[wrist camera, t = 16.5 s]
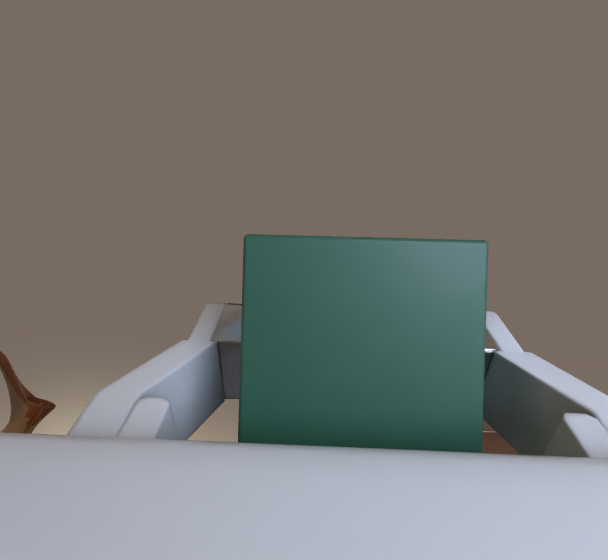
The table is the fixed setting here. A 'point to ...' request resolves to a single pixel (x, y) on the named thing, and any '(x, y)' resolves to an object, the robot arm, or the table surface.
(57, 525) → the robot arm
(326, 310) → the carton
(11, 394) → the ceramic vessel
